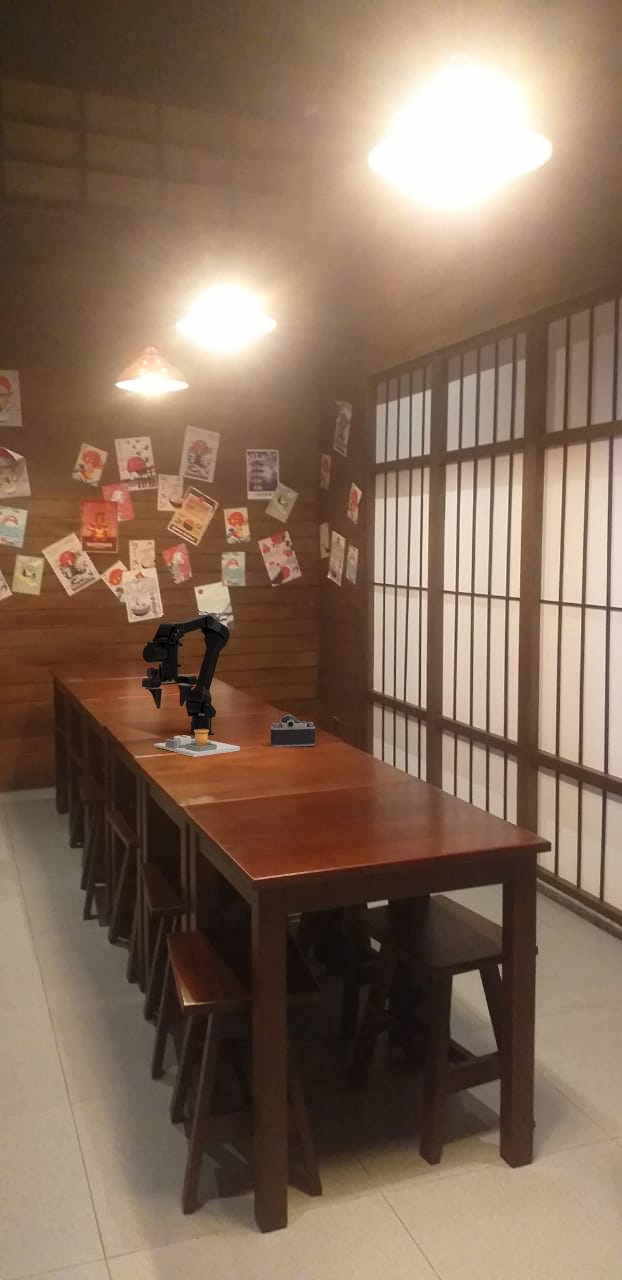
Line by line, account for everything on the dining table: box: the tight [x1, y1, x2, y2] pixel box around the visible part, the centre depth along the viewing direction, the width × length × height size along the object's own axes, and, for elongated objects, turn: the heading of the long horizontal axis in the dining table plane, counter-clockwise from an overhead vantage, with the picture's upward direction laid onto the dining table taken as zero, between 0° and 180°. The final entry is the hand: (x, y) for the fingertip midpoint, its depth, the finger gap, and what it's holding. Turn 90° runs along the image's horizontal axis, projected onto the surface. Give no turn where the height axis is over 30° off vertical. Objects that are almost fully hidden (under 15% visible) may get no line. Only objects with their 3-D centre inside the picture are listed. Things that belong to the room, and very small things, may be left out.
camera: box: [269, 714, 316, 748], centre depth 326 cm, size 16×8×10 cm, turn 100°
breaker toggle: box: [173, 734, 192, 747], centre depth 315 cm, size 4×4×3 cm
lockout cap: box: [194, 729, 209, 747], centre depth 309 cm, size 5×5×6 cm
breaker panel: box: [153, 738, 241, 758], centre depth 316 cm, size 18×22×4 cm
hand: (169, 707), depth 326 cm, fingers open, 9 cm apart
